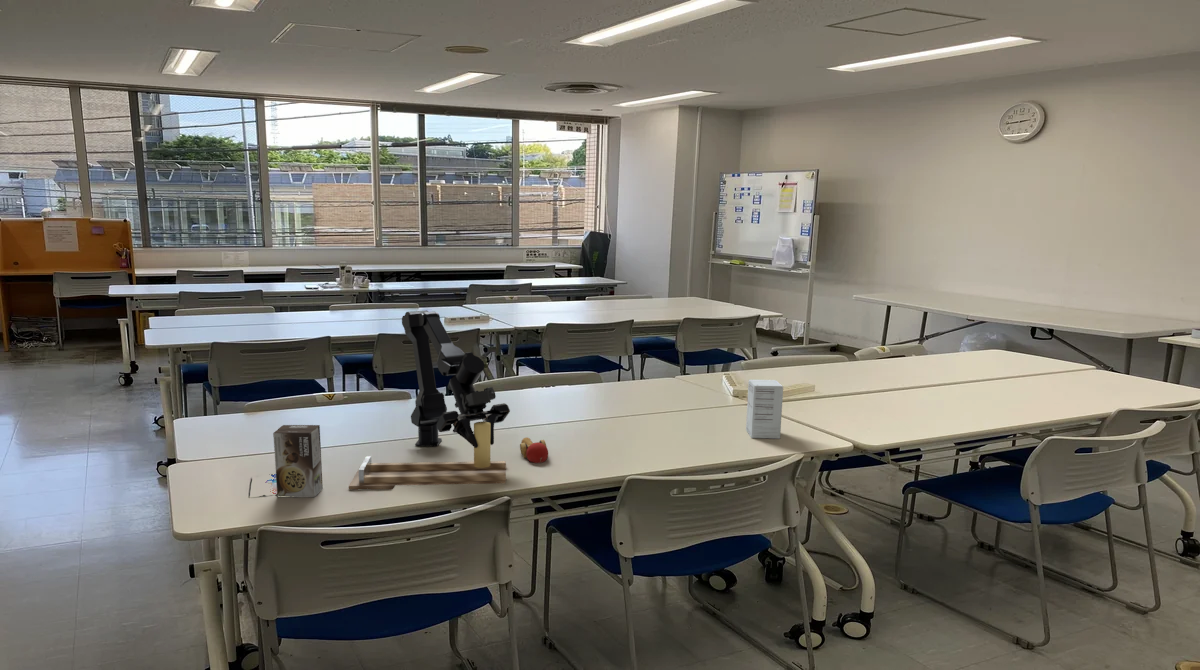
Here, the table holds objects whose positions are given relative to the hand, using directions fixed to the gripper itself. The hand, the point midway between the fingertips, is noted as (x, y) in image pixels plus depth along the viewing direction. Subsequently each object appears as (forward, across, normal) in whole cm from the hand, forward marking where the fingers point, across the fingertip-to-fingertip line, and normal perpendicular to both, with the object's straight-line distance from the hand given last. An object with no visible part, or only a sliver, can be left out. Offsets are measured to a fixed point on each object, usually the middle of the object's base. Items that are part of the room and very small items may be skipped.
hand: (484, 445), depth 192 cm
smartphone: (-11, -47, +24) cm, 54 cm away
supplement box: (+15, +92, -2) cm, 93 cm away
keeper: (+3, 0, +5) cm, 6 cm away
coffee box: (-5, -42, +18) cm, 45 cm away
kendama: (0, +20, +13) cm, 23 cm away
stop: (-5, -25, +18) cm, 31 cm away
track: (+1, -11, +12) cm, 16 cm away
